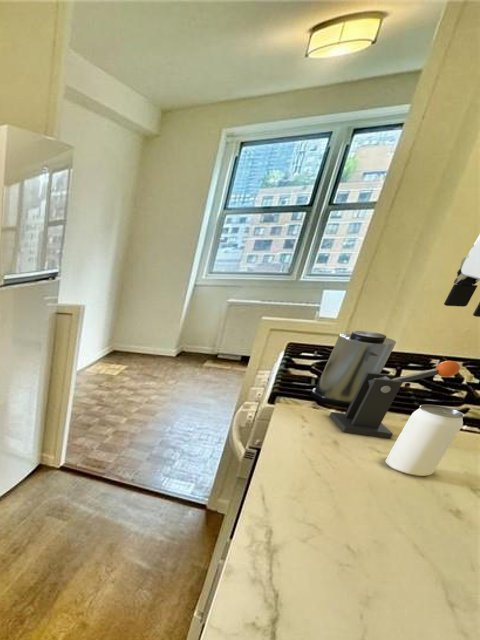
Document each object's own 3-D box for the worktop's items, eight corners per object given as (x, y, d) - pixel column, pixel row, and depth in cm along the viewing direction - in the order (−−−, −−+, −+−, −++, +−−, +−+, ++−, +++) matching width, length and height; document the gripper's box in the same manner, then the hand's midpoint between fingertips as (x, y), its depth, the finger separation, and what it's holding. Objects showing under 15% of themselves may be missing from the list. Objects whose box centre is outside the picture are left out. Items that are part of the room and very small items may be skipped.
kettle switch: (455, 370, 98) (453, 356, 97) (464, 375, 95) (462, 361, 95) (369, 391, 105) (366, 377, 104) (375, 396, 103) (372, 382, 102)
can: (387, 470, 91) (420, 412, 85) (381, 456, 96) (412, 400, 90) (435, 480, 88) (473, 421, 82) (426, 466, 92) (462, 408, 87)
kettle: (355, 393, 125) (386, 329, 117) (377, 413, 114) (413, 344, 106) (302, 387, 129) (329, 325, 121) (319, 406, 118) (350, 339, 110)
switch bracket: (373, 422, 110) (399, 372, 104) (390, 438, 102) (419, 386, 97) (329, 416, 112) (352, 368, 107) (343, 432, 105) (368, 381, 100)
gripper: (594, 212, 75) (527, 323, 83) (520, 208, 89) (469, 303, 97) (527, 213, 78) (468, 320, 86) (465, 209, 92) (420, 301, 100)
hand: (469, 311), depth 92 cm, fingers open, 9 cm apart
